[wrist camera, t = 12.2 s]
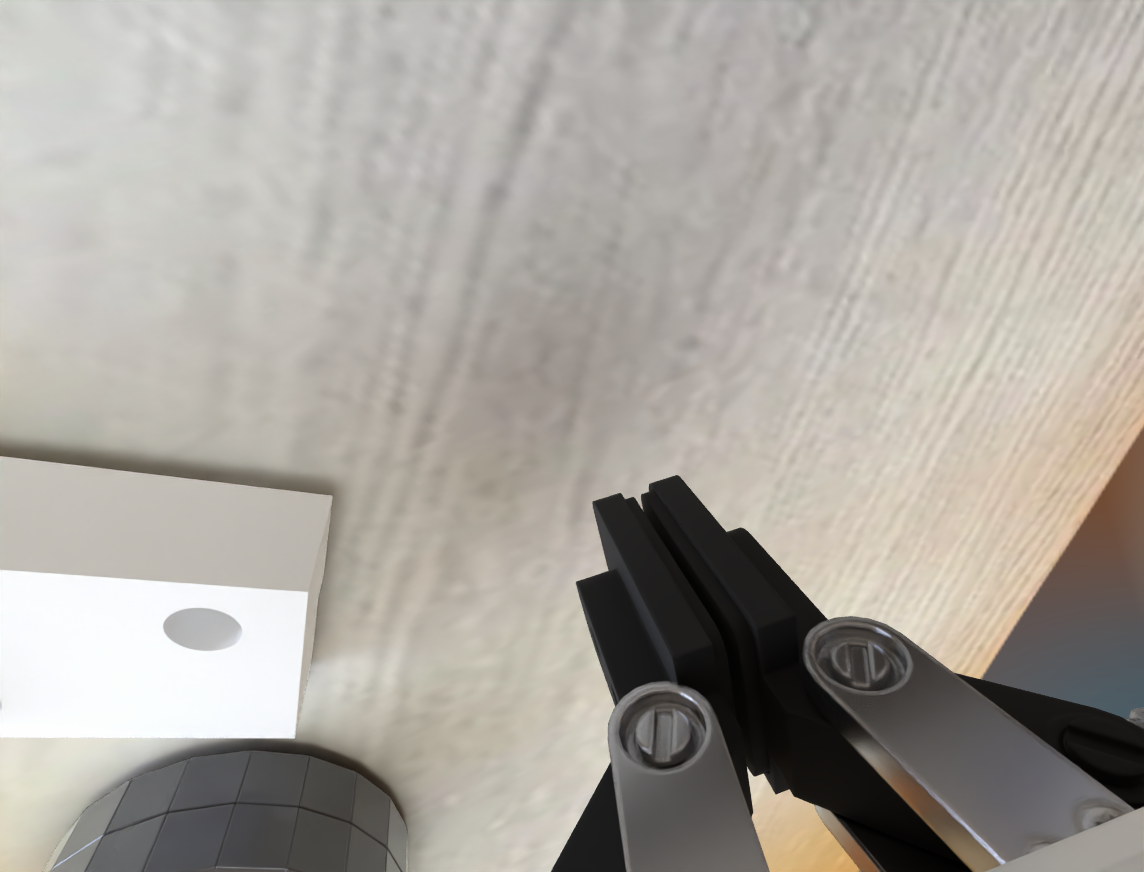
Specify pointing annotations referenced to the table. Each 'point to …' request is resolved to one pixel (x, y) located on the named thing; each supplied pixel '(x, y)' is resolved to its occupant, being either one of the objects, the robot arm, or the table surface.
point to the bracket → (154, 603)
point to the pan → (239, 820)
